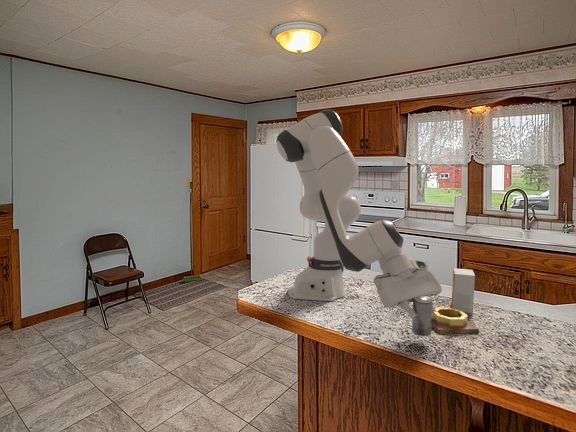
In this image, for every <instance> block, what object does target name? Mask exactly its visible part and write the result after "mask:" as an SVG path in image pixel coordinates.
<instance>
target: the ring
mask: <svg viewBox="0 0 576 432" xmlns="http://www.w3.org/2000/svg"><path fill="white" fill-rule="evenodd" d="M435 310H436V311H435V312H434V313H432V319H433V320H434V321H435V322H436V323H437V324H441V325H444V326H448V327H464V326H465V325H466V324H467V320H468V315H467V314H466V312H462V311H460V310H456V309H453V307H436V308H435ZM450 317H452V318H450Z"/></svg>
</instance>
